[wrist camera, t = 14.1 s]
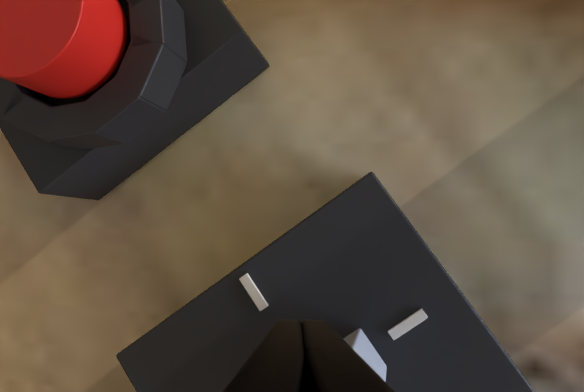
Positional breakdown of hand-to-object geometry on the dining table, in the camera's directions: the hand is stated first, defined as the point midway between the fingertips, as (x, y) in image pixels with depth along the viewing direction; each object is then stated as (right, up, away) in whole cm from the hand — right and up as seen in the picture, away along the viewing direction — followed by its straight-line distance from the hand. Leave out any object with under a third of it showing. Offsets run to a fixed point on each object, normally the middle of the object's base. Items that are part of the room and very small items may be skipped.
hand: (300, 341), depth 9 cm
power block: (-8, +10, +15) cm, 20 cm away
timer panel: (+1, -4, +12) cm, 12 cm away
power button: (-8, +8, +9) cm, 14 cm away
